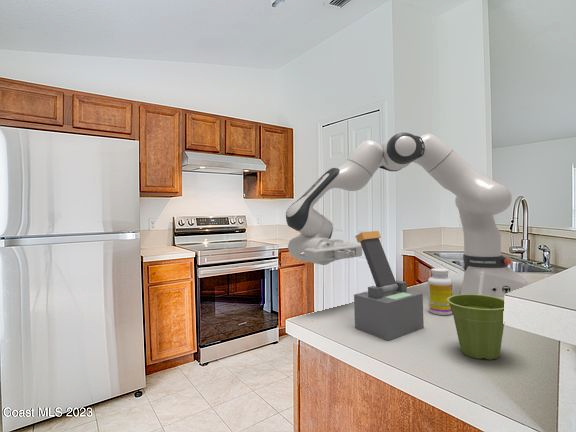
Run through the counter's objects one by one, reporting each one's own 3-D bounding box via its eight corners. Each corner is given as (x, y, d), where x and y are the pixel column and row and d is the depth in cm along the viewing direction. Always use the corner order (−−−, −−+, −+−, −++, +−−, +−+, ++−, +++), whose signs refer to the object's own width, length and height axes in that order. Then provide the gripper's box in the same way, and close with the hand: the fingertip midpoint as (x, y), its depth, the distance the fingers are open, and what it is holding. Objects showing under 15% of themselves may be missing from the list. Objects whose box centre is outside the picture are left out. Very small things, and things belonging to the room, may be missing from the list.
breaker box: (355, 328, 87) (353, 285, 87) (389, 317, 95) (388, 277, 95) (388, 340, 78) (386, 292, 78) (423, 327, 86) (422, 283, 85)
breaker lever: (377, 295, 85) (355, 236, 91) (394, 291, 89) (372, 234, 94) (384, 292, 83) (361, 232, 89) (401, 288, 87) (378, 230, 92)
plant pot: (455, 338, 78) (453, 291, 78) (515, 350, 71) (513, 298, 70) (441, 356, 69) (440, 303, 69) (509, 372, 62) (507, 312, 61)
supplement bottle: (456, 316, 94) (454, 271, 93) (431, 315, 95) (430, 271, 95) (449, 309, 100) (448, 267, 100) (426, 308, 102) (425, 267, 101)
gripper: (295, 244, 103) (324, 247, 91) (343, 239, 114) (374, 241, 103) (296, 264, 103) (324, 269, 91) (344, 257, 114) (375, 261, 103)
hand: (351, 254), depth 97 cm, fingers closed
